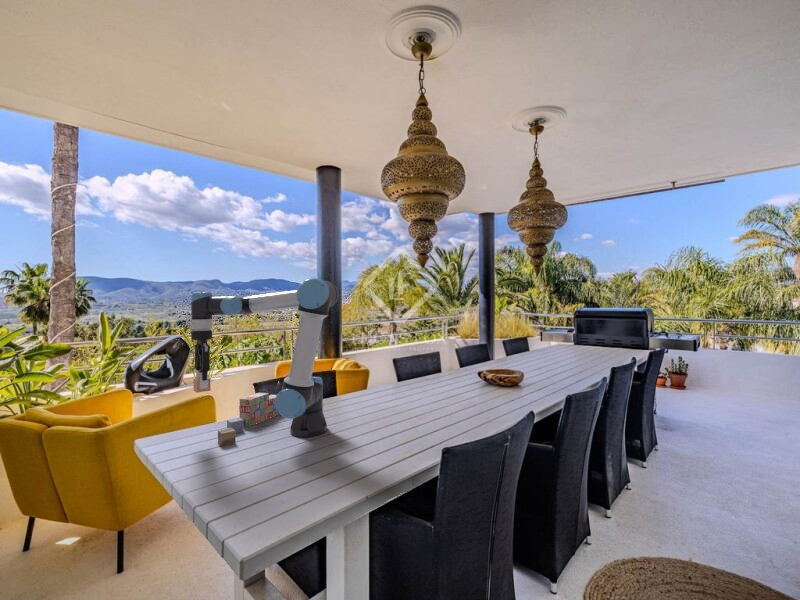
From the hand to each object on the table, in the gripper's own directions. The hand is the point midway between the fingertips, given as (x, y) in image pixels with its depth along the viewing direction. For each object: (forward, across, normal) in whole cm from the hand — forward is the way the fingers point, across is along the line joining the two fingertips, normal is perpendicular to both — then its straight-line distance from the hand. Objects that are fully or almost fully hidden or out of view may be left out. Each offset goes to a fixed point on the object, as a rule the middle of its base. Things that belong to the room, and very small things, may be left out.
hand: (201, 387), depth 145 cm
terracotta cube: (+1, 0, 0) cm, 1 cm away
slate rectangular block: (+21, 0, +13) cm, 25 cm away
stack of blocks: (+21, -10, +28) cm, 36 cm away
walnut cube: (+21, +12, +6) cm, 25 cm away
